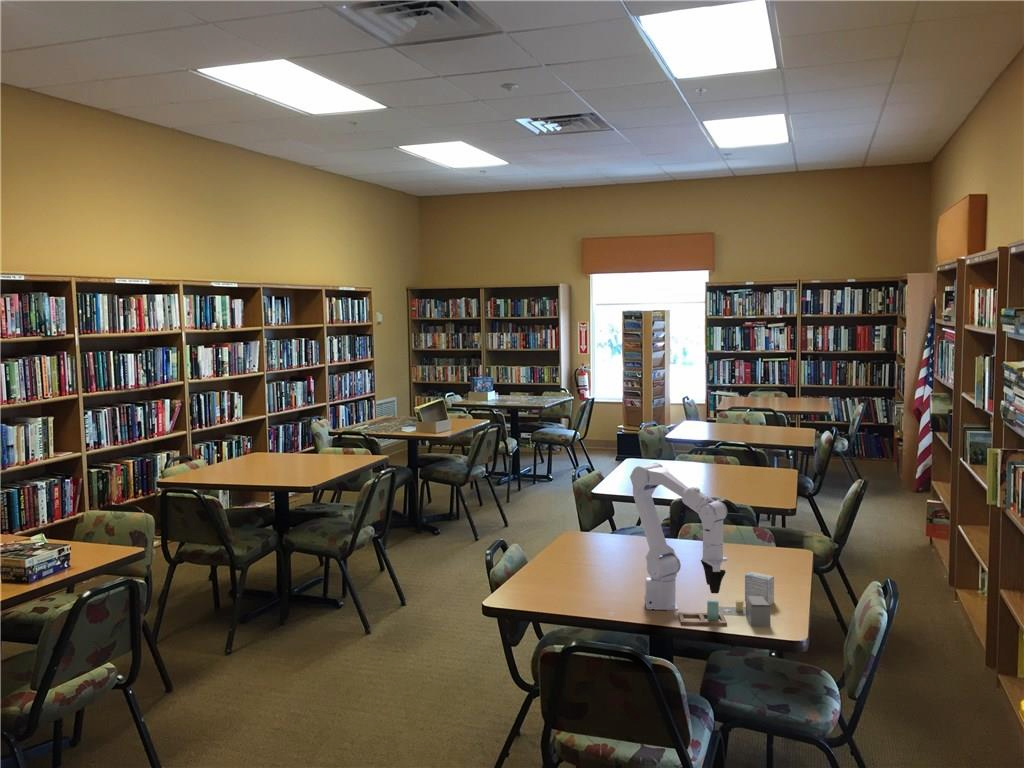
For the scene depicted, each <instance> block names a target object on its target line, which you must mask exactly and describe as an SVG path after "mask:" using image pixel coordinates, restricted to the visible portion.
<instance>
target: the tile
mask: <svg viewBox="0 0 1024 768" xmlns="http://www.w3.org/2000/svg"><path fill="white" fill-rule="evenodd" d="M719 613H723V615H724V616H745V617H746V606H744V601H743V600H742V599H738V600H735V606H719Z"/></svg>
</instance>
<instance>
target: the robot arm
mask: <svg viewBox="0 0 1024 768" xmlns="http://www.w3.org/2000/svg"><path fill="white" fill-rule="evenodd" d="M629 478H630V481H631V484H632V496H633V499H634V502H635V506H636V509H637V513H638V515H639V518H640V519H639V520H640V522H641V525H642V528H643V532H644V535H645V538H646V542H647V544H648V548H649V549H648V552H647V553H646V555H645V560H646V570H647V574H648V577H644V578H645V580H644V598H643V599H644V602H645V607H646V610H652V609H654V610H657V611H659V610H660V611H661V610H662V611H666V610H667V611H668V610H669V611H670V610H671V611H678V610H679V607H678V604H677V599H676V597H677V596H676V592H677V591H676V589H677V588H676V587H677V586H676V582H677V579H676V578H677V576H678V573H679V572H680V570H681V567H682V566H681V565H682V564H681V560H680V559H679V557H678V556H677V554H676V552H675V550H674V548H672V547H671V546H670V545H668V544H667V541H666V538H665V537H666V536H665V534H664V532H663V528H662V524H661V521H660V519H659V515H658V512H657V509H656V506H655V503H654V499H653V494H654V491H655V490H656V489H657V488H658V487H659V486H660V485H661V486H663V487H665V488H666V489H668V490H670V491H671V492H673V493H674V494H676V495H678V496H679V497H681V501H682V503H683V504H684V505H685V506H687V507H688V508H690V509H691V510H692V511H694V512H695V513H697V514H698V517H699V519H700V521H701V527H702V557H701V559H700V562H701V564H702V567H703V570H704V575H705V581H706V585H708V586H709V590H710V593H711V594H719V593H720V589H721V585H722V581H723V578H724V577H725V574H726V572H727V570H725V569H721V565H723V563H724V562H727V561H728V557H726V556H724V520H725V519H726V517H727V515H728V508H727V505H726V504H725V503H724V502H723V501H721V500H720V499H716V500H715V499H713V498H712V497H711V496H709V495H706V494H705V493H704V492H702V491H701V489H700V488H699V487H694V486H692V487H688V486H687V485H685V484H684V483H683V482H682V481H680V479H678V478H677V477H675V476H674V475H673V474H672V473H670V472H669V470H668V468H667V467H666V466H663V465H662V464H661V463H658V462H655V463H652V464H651V463H650V464H646V465H638V466H635V467H634V468H633V470H632V471H631V474H630V476H629ZM654 610H653V611H654Z"/></svg>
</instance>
